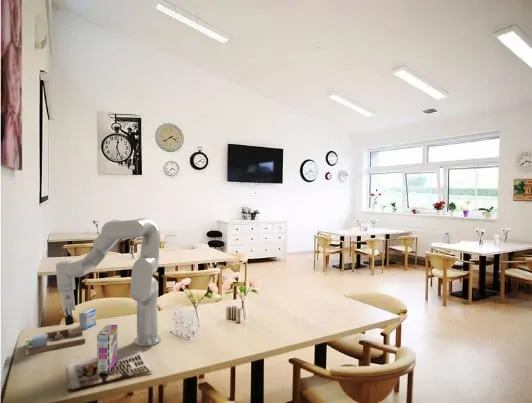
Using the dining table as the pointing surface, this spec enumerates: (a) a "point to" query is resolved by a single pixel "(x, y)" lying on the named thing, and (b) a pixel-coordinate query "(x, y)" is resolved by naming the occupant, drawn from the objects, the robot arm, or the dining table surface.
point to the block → (39, 341)
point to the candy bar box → (107, 348)
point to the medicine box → (87, 318)
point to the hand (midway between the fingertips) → (69, 324)
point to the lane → (55, 336)
